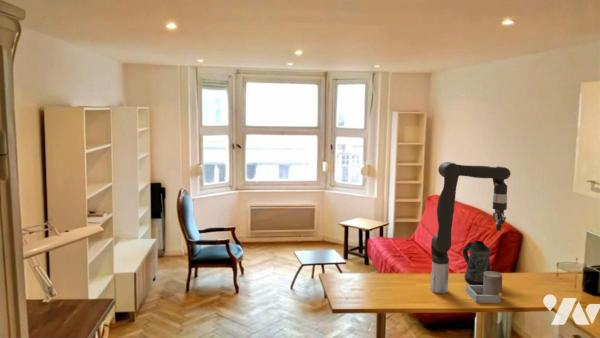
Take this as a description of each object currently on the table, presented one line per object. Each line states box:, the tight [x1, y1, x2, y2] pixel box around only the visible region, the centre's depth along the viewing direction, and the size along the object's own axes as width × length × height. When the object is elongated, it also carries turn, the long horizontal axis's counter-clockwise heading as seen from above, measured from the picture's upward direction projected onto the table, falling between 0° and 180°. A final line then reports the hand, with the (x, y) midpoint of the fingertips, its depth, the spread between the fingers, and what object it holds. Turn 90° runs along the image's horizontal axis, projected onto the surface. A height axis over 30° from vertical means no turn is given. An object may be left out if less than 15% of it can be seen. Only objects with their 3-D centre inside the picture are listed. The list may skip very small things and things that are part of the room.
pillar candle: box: [482, 270, 503, 295], centre depth 247 cm, size 10×10×15 cm
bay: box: [465, 284, 503, 304], centre depth 248 cm, size 14×15×5 cm
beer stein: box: [462, 240, 492, 285], centre depth 271 cm, size 16×19×25 cm
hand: (498, 230), depth 257 cm, fingers closed
